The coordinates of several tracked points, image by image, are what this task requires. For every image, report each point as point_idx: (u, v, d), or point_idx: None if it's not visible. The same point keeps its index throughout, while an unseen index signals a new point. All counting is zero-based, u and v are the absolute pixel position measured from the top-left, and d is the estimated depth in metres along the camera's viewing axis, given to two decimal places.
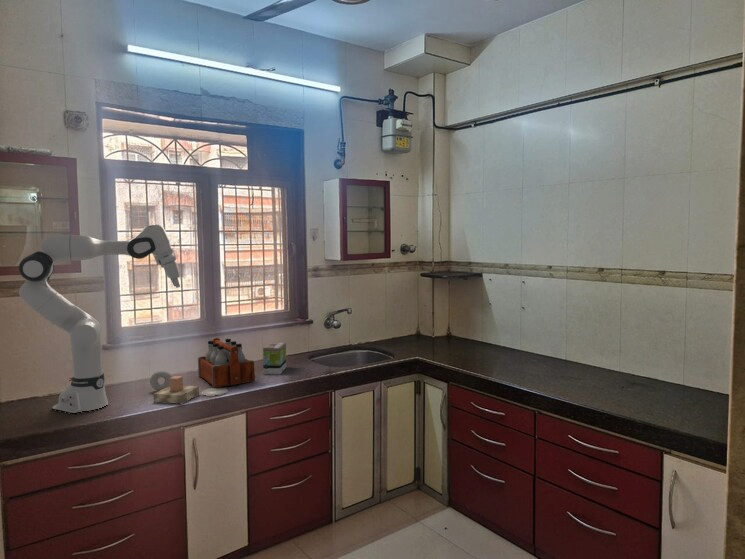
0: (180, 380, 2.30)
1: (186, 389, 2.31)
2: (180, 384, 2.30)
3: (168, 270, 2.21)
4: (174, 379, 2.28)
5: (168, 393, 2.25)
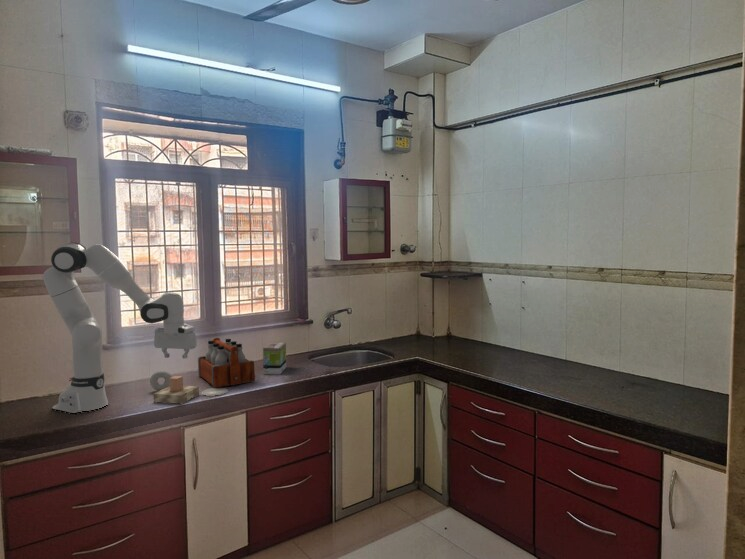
0: (180, 380, 2.30)
1: (186, 389, 2.31)
2: (180, 384, 2.30)
3: (191, 339, 2.25)
4: (174, 379, 2.28)
5: (168, 393, 2.25)
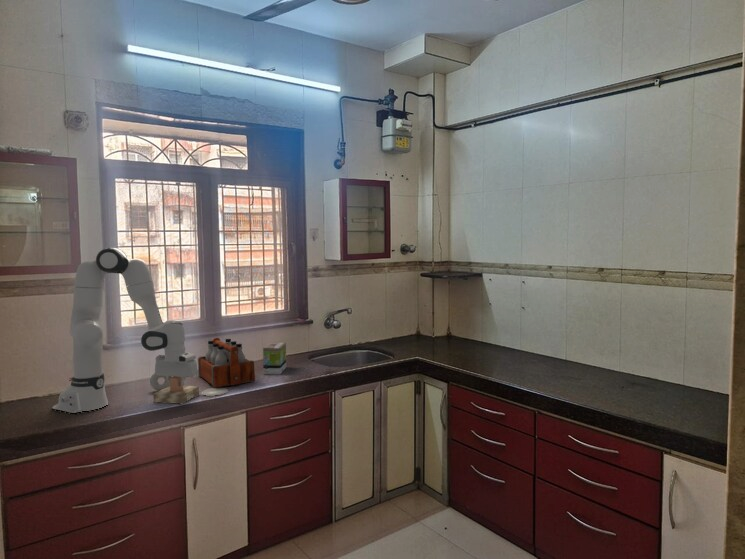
0: (180, 380, 2.30)
1: (186, 389, 2.31)
2: None
3: (192, 368, 2.26)
4: (174, 379, 2.28)
5: (168, 393, 2.25)
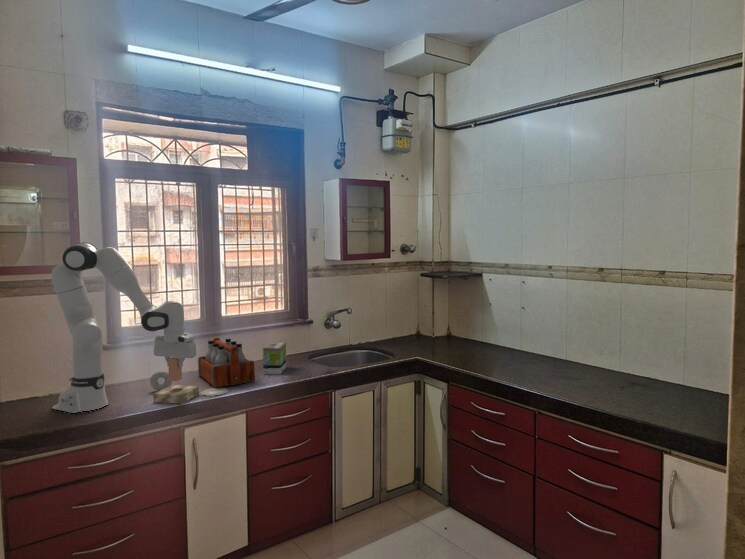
0: (179, 360, 2.29)
1: (186, 389, 2.31)
2: None
3: (191, 348, 2.25)
4: (173, 360, 2.27)
5: (168, 393, 2.25)
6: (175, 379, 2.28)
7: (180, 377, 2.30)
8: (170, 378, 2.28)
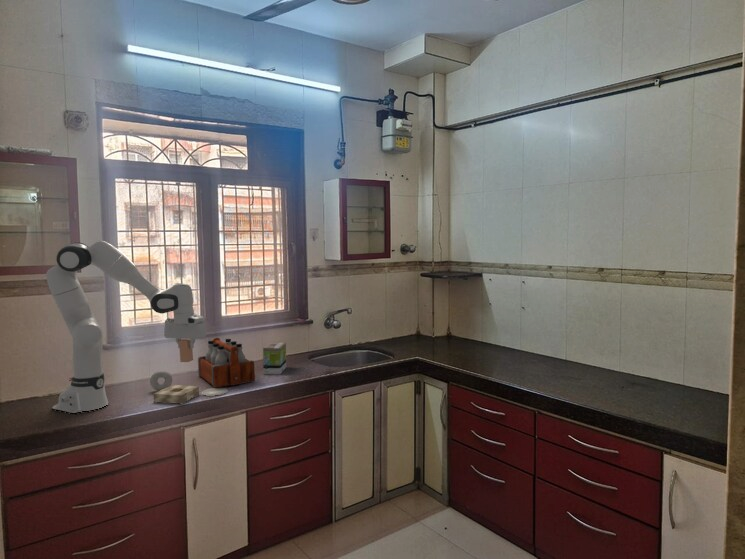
0: (189, 342, 2.31)
1: (186, 389, 2.31)
2: None
3: (201, 329, 2.27)
4: (183, 341, 2.29)
5: (168, 393, 2.25)
6: (186, 360, 2.30)
7: (191, 358, 2.32)
8: (181, 359, 2.30)
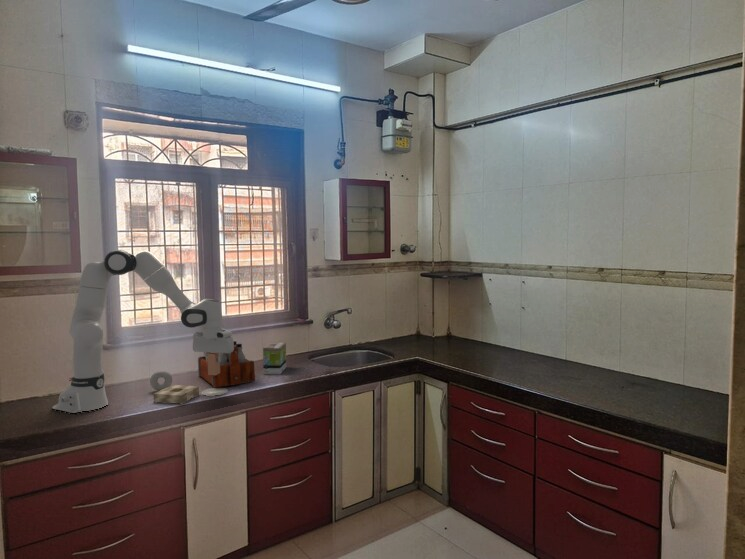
0: (217, 355, 2.38)
1: (186, 389, 2.31)
2: None
3: (229, 344, 2.34)
4: (212, 355, 2.36)
5: (168, 393, 2.25)
6: (214, 373, 2.37)
7: (218, 371, 2.39)
8: (209, 372, 2.37)
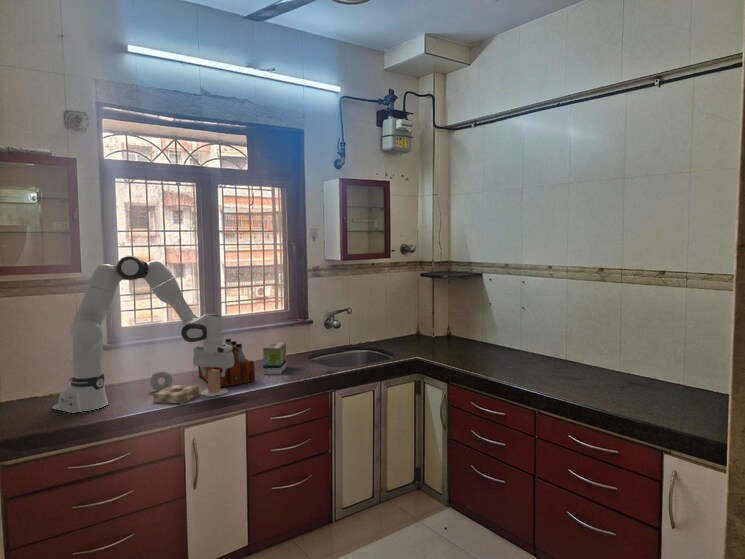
0: (217, 373, 2.39)
1: (186, 389, 2.31)
2: (217, 377, 2.38)
3: (230, 359, 2.34)
4: (212, 372, 2.37)
5: (168, 393, 2.25)
6: (214, 391, 2.37)
7: (219, 389, 2.40)
8: (209, 390, 2.38)
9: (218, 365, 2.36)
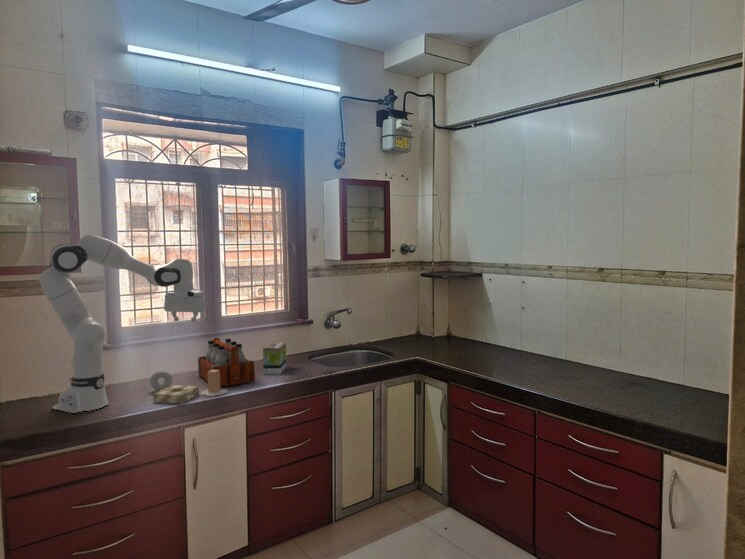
0: (217, 373, 2.39)
1: (186, 389, 2.31)
2: (217, 377, 2.38)
3: (200, 303, 2.35)
4: (212, 372, 2.37)
5: (168, 393, 2.25)
6: (214, 391, 2.37)
7: (219, 389, 2.40)
8: (209, 390, 2.38)
9: (189, 310, 2.36)
